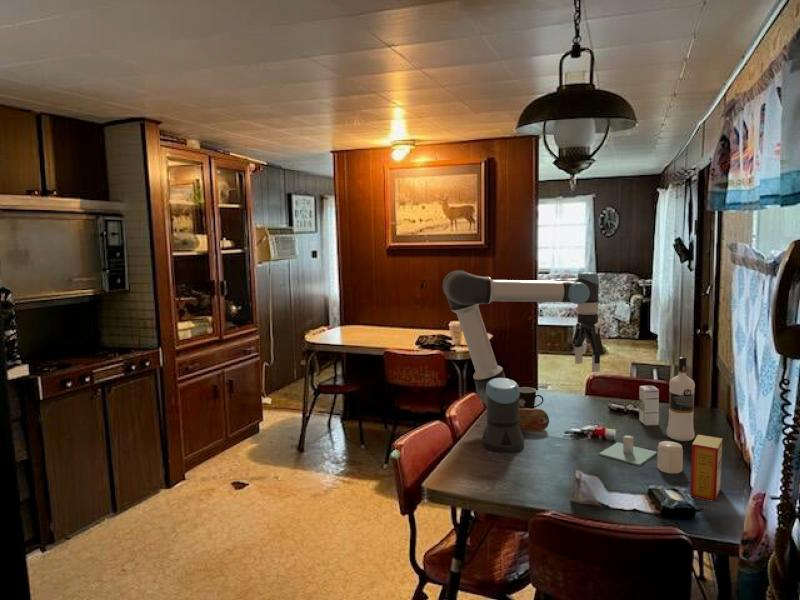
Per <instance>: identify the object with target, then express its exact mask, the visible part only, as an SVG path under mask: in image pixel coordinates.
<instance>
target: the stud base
mask: <svg viewBox="0 0 800 600" xmlns="http://www.w3.org/2000/svg"><path fill="white" fill-rule="evenodd" d="M622 438H623V439H622V440H623V441H622V442H623V443H622V442H619V441H617V442H616V443H614V444H613V445H611V446H609V447H607V448H606V449H604V450H602V451H600V452H599V453H598V455H599V456H602V457H605V458H608V459H613V460H616V461H619V462H623V463H626V464H631V465H634V466H638V467H641V466H642V465H643V464H646V462H647V461H648V460H650V459H652V458H653V457H655V456H656V455H658V451H655V450H650V449H646V448H642V447H639V446H634V436H633V435H624V436H623V437H622Z"/></svg>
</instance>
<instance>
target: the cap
mask: <svg viewBox="0 0 800 600" xmlns="http://www.w3.org/2000/svg"><path fill="white" fill-rule="evenodd" d="M683 454H684V449H683V445H682V444H680V443H679V442H675V441H669V440H664V441H660V442H659V443H658V446H657V464H656V465H657V467H656V468H657V469H658V470H659V471H661V472H662V473H667V474H680V473H681V472H683V461H684V460H683V459H684V458H683V457H684V455H683Z"/></svg>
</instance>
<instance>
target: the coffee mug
mask: <svg viewBox="0 0 800 600" xmlns="http://www.w3.org/2000/svg"><path fill="white" fill-rule="evenodd" d="M519 392H520V395H519V408H525V409H536V408H537V407H539V406H540V405H542V404H543V403H544V397H543V395H541V394H537V389H536V388H534V387H529V386H528V387H527V386H522V387H521V386H520V387H519ZM537 397H539V398H541V402H539V404H536V405H535V403H536V398H537Z"/></svg>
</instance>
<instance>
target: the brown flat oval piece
mask: <svg viewBox="0 0 800 600" xmlns="http://www.w3.org/2000/svg"><path fill="white" fill-rule="evenodd" d="M549 424H550V418H549V416H548V413H547V412H546V411H545V410H543V409H541V408H534V409H525V408H519V426H520V429H521V432H522V431H525V432H526V431H527V432H542V431H545V430H546V429H547V428H548V426H549Z"/></svg>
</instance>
